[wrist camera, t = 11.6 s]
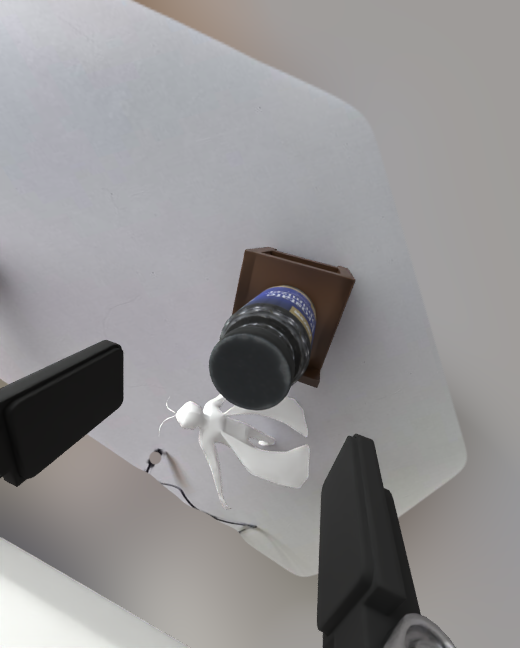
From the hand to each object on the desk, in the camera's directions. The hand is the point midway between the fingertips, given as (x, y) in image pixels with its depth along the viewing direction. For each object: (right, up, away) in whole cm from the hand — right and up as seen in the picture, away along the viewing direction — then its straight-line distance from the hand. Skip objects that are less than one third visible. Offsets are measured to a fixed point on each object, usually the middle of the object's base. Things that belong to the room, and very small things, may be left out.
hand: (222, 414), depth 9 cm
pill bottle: (+4, +4, +14) cm, 15 cm away
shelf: (+6, +7, +22) cm, 24 cm away
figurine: (+2, -8, +28) cm, 30 cm away
